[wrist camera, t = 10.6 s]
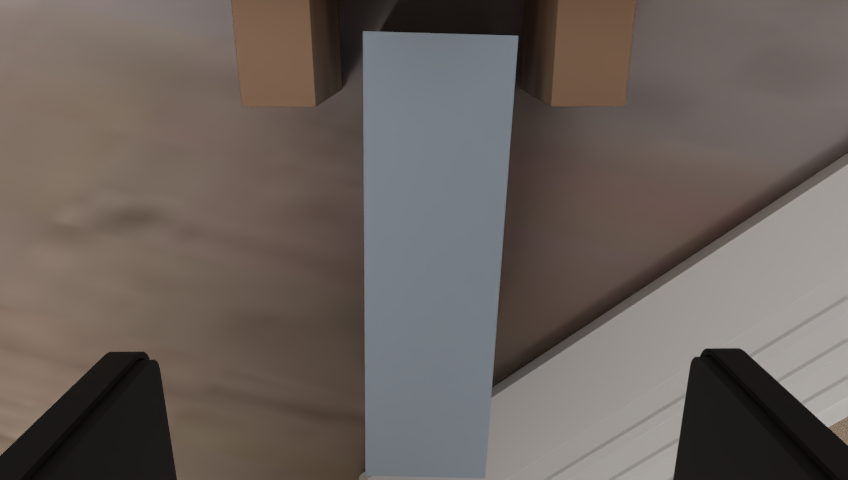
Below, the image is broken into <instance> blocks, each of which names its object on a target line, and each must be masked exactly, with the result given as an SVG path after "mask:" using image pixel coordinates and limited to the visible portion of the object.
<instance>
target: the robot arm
mask: <svg viewBox="0 0 848 480" xmlns="http://www.w3.org/2000/svg"><path fill="white" fill-rule="evenodd" d="M0 480H177V478H176V471H175V465H174V458H173V452H172V445H171V439H170V432H169V426H168V419H167V413H166V406H165V400H164V393H163V387H162V380H161V373H160V368H159V364H158V363H157V361H156V360H150V359H149V357H148V355H147V354H146V353H145V352H109V353H107V354H106V355H105V356H103V357H102V358H101V359H100V360H99V361H98V362H97V363H96V364H95V365H94V366H93V367H92V368H91V369H90V370H89V371H88V372H87V373H86V374H85V375H84V376H83V377H82V378H81V379H80V380H79V381H78V382H77V383H75V384H74V385H73V386H72V387H71V388H70V389H69V390H68V391H67V392H66V393H65V394H64V395H63V396H62V397H61V398H60V399H59V400H58V401H57V402H56V403H55V404H54V405H53V406H52V407H51V408H50V409H48V410H47V411H46V412H45V413H44V414H43V415H42V416H41V417H40V418H39V419H38V420H37V421H36V422H35V423H34V424H33V425H32V426H31V427H30V428H29V429H28V430H27V431H26V432H25V433H24V434H23V435H22V436H20V437H19V438H18V439H17V440H16V441H15V442H14V443H13V444H12V445H11V446H10V447H9V448H8V449H7V450H6V451H5V452H4V453H3V454H2V455H1V456H0ZM673 480H848V446H847V445H846V444H845V443H844V442H843V441H842V440H841V439H840V438H839V437H838V436H836V435H835V434H834V433H833V432H832V431H831V430H830V429H829V428H828V427H827V426H826V425H824V424H823V423H822V422H821V421H820V420H819V419H818V418H817V417H816V416H815V415H814V414H812V413H811V412H810V411H809V410H808V409H807V408H806V407H805V406H804V405H803V404H802V403H800V402H799V401H798V400H797V399H796V398H795V397H794V396H793V395H792V394H791V393H790V392H788V391H787V390H786V389H785V388H784V387H783V386H782V385H781V384H780V383H779V382H778V381H776V380H775V379H774V378H773V377H772V376H771V375H770V374H769V373H768V372H767V371H766V370H764V369H763V368H762V367H761V366H760V365H759V364H758V363H757V362H756V361H755V360H754V359H752V358H751V357H750V356H749V355H748V354H747V353H746V352H745V351H743V350H742V349H740V348H706V349H705V350H703V351H702V353H701V355H700V357H694V358H693V359H692V361H691V365H690V370H689V377H688V384H687V390H686V397H685V404H684V410H683V417H682V424H681V430H680V437H679V444H678V450H677V457H676V464H675V470H674V477H673Z"/></svg>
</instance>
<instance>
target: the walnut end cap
mask: <svg viewBox="0 0 848 480" xmlns="http://www.w3.org/2000/svg"><path fill="white" fill-rule="evenodd" d="M231 3H232V13H233V23H234V33H235V43H236V53H237V63H238V72H239V82H240V92H241V102H242V107H316V106H318V105H319V104H321V103H322V102H324V101H325V100H327V99H328V98H330V97H331V96H333V95H334V94H336V93H337V92H339V91H340V90H342V73H341V51H340V29H339V8H338V0H231ZM635 9H636V0H525V8H524V28H523V48H522V68H521V87H520V89H522V90H523V91H525V92H527V93H529V94H530V95H532V96H534V97H536V98H537V99H539V100H541V101H543V102H544V103H546V104H548V105H550V106H625V102H626V92H627V83H628V74H629V64H630V55H631V46H632V36H633V27H634V18H635Z"/></svg>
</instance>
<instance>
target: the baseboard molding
mask: <svg viewBox="0 0 848 480" xmlns="http://www.w3.org/2000/svg"><path fill="white" fill-rule="evenodd" d="M706 348H740V349H742V350H743V351H745V352H746V353H747V354H748V355H749V356H750V357H751V358H752V359H754V360H755V361H756V362H757V363H758V364H759V365H760V366H761V367H762V368H763V369H764V370H766V371H767V372H768V373H769V374H770V375H771V376H772V377H773V378H774V379H775V380H776V381H778V382H779V383H780V384H781V385H782V386H783V387H784V388H785V389H786V390H787V391H788V392H790V393H791V394H792V395H793V396H794V397H795V398H796V399H797V400H798V401H799V402H800V403H802V404H803V405H804V406H805V407H806V408H807V409H808V410H809V411H810V412H811V413H812V414H814V415H815V416H816V417H817V418H818V419H819V420H820V421H821V422H822V423H823V424H824V425H826V426H827V427H830V426H831V425H833V424H835V423H837V422H839V421H840V420H842V419H844V418H846V417H847V416H848V153H847V154H845V155H844V156H842V157H841V158H839V159H838V160H836V161H835V162H833V163H832V164H830V165H829V166H827V167H826V168H824V169H823V170H821V171H820V172H818V173H817V174H815V175H814V176H812V177H811V178H809V179H807V180H806V181H804V182H803V183H801V184H800V185H798V186H797V187H795V188H794V189H792V190H791V191H789V192H788V193H786V194H785V195H783V196H782V197H780V198H779V199H777V200H776V201H774V202H773V203H771V204H770V205H768V206H767V207H765V208H763V209H762V210H760V211H759V212H757V213H756V214H754V215H753V216H751V217H750V218H748V219H747V220H745V221H744V222H742V223H741V224H739V225H738V226H736V227H735V228H733V229H732V230H730V231H729V232H727V233H726V234H724V235H723V236H721V237H720V238H718V239H716V240H715V241H713V242H712V243H710V244H709V245H707V246H706V247H704V248H703V249H701V250H700V251H698V252H697V253H695V254H694V255H692V256H691V257H689V258H688V259H686V260H685V261H683V262H682V263H680V264H679V265H677V266H676V267H674V268H672V269H671V270H669V271H668V272H666V273H665V274H663V275H662V276H660V277H659V278H657V279H656V280H654V281H653V282H651V283H650V284H648V285H647V286H645V287H644V288H642V289H641V290H639V291H638V292H636V293H635V294H633V295H632V296H630V297H629V298H627V299H625V300H624V301H622V302H621V303H619V304H618V305H616V306H615V307H613V308H612V309H610V310H609V311H607V312H606V313H604V314H603V315H601V316H600V317H598V318H597V319H595V320H594V321H592V322H591V323H589V324H588V325H586V326H585V327H583V328H582V329H580V330H578V331H577V332H575V333H574V334H572V335H571V336H569V337H568V338H566V339H565V340H563V341H562V342H560V343H559V344H557V345H556V346H554V347H553V348H551V349H550V350H548V351H547V352H545V353H544V354H542V355H541V356H539V357H538V358H536V359H534V360H533V361H531V362H530V363H528V364H527V365H525V366H524V367H522V368H521V369H519V370H518V371H516V372H515V373H513V374H512V375H510V376H509V377H507V378H506V379H504V380H503V381H501V382H500V383H498V384H497V385H495V386H494V387H492V395H491V408H490V421H489V434H488V448H487V461H486V474H485V478H445V477H403V476H365V472H363V473H362V474H361V475H360V476H359V480H673V477H674V470H675V464H676V457H677V450H678V444H679V437H680V430H681V424H682V417H683V410H684V404H685V397H686V390H687V384H688V377H689V370H690V365H691V361H692V359H693V358H694V357H700V355H701V353H702V351H703V350H705V349H706Z"/></svg>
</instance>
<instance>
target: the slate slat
mask: <svg viewBox="0 0 848 480" xmlns="http://www.w3.org/2000/svg"><path fill="white" fill-rule="evenodd" d="M517 49H518V36H514V35H479V34H445V33H410V32H376V31H363V143H364V310H365V476H403V477H445V478H485V474H486V461H487V448H488V434H489V421H490V408H491V395H492V381H493V368H494V355H495V341H496V328H497V315H498V302H499V288H500V275H501V262H502V249H503V235H504V222H505V209H506V195H507V182H508V169H509V156H510V142H511V129H512V116H513V102H514V89H515V76H516V63H517Z"/></svg>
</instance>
